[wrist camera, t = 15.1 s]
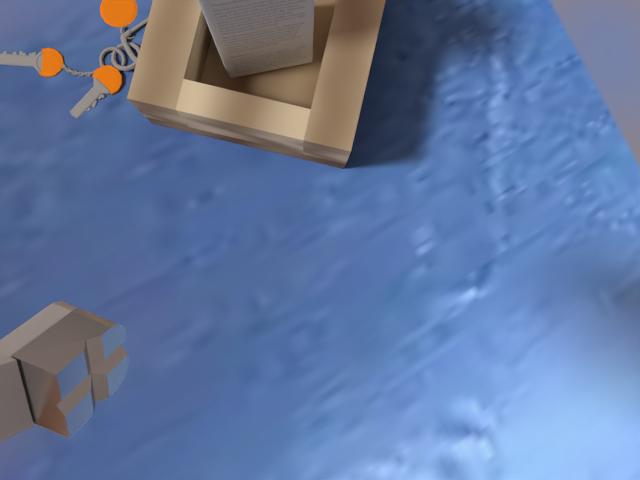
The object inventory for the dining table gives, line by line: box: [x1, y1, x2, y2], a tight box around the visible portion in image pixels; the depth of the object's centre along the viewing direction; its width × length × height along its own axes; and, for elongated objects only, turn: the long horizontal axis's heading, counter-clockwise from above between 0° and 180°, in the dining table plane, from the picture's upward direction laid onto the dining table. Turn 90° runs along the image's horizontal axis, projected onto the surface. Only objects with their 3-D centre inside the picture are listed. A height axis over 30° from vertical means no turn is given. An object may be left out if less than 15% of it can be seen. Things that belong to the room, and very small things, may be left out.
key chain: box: [0, 0, 149, 118], centre depth 35 cm, size 13×7×1 cm, turn 120°
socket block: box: [127, 0, 386, 169], centre depth 33 cm, size 14×14×5 cm
